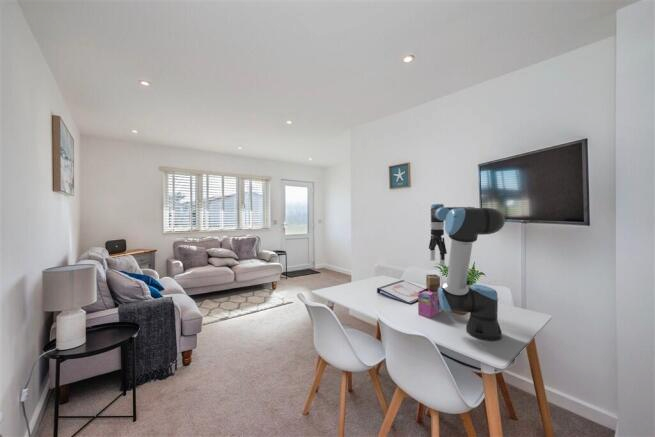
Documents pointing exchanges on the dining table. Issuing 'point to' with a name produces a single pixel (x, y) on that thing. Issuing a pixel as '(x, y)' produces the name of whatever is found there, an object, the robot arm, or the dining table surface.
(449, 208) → the robot arm
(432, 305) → the gum box
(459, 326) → the dining table surface
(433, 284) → the walnut block
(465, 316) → the dining table surface
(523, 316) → the dining table surface
